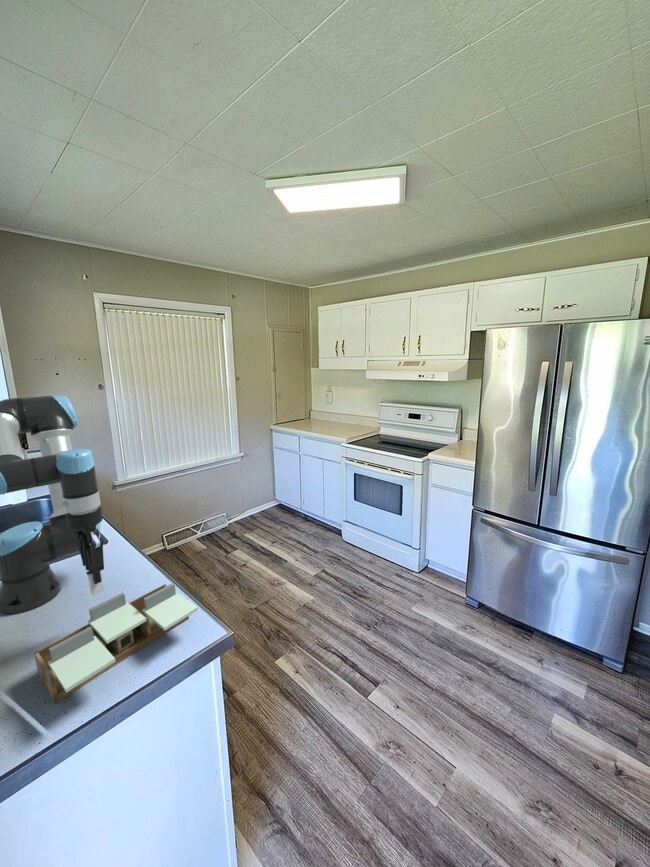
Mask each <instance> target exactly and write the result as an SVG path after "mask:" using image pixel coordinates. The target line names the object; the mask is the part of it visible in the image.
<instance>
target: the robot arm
mask: <svg viewBox="0 0 650 867" xmlns="http://www.w3.org/2000/svg"><path fill="white" fill-rule="evenodd" d="M76 427H78V419H77V415H76V411H75V409H74V407H73V405H72V403H71V401H70V399H69V398H68V397H67V396H65V395H51V394H50V395H44V396H29V397H27V396H26V397H17V398H16V397H12V398H6V399H2V400H0V495H5V494H10V493H14V492H18V491H23V490H28V489H33V488H37V487H39V488H40V487H44V486H47V487H48V491H49V495H50V499H51V500H50V501H51V506H52V510H53V512H52V513H51V514H50V516H49V517H48V519H49V523H47V524H42V523H41V521H36V520H35V521H29V522H25V523H20V524H17V525H15V526H13V527H11V528H8V529H7V530H5V531H3V532H1V533H0V580H1V587H0V612H1V613H3V614H6V613H7V614H8V615H12V614H13V615H14V614H21V613H24V612H28V611H31V610H33V609H34V610H35V609H36V608H38V607H41V606H42V605H43V606H44V605H45V604H47V603H48V602H50V601H51V600H53V599H54V598H56V597H57V596H58V595H59V593H60V592H61V590H62V587H61V586H62V585H61V581H60V579H59V578H58V576H57V575H56V573H54V571H53V570H52V568H51V564H50V562H52V561H55V560H58V559H61V558H62V559H63V558H65V557H68V556H71V555H74V554H77V553H79V554H80V557H81V559H80V560H81V562H82V566H84V567H85V570H86V572H85V573H86V575H87V578H88V584H89V590H90V594H91V595H92V596H93V597H95V596H96V595H97V594H100V593H102V592H105V586H104V581H103V574H102V571H104V570H105V564H104V563H105V562H104V539H103V538H101V523H102V522H103V521H104V520H103V519H104V518H103V510H102V506H101V504H102V503H101V499H100V498H101V497H100V490H99V488H98V481H97V475H96V466H95V464H96V463H95V460H94V457H93V453H92V451H91V450H90V449H87V448H75V449H74V448H73V444H72V440H71V436H72V435H73V434H74V433H75V430H74V428H76ZM28 433H30V436H31V438H32V439H33V440H35V441H37V442H38V445H39V450H40V454H41V456H39V457H31V458H25V456H24V453H23V447H22V445H21V442H20V438H19V434H28ZM7 614H6V615H7Z"/></svg>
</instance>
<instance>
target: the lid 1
mask: <svg viewBox="0 0 650 867" xmlns="http://www.w3.org/2000/svg"><path fill="white" fill-rule="evenodd" d="M49 652H50V656H51V660H50V661H48V665H49V667H50V668H51V670H52V671H53V673H54V674H55V676H56V677H57V679H58V681H59V682H60V684H61V685H62V687H63V688H64V690H65V691H66V692H68V691H70V690H71V689H73V688H74V687H76V686H78V685H79V684H81V683H82V682H84V681H86V680H87V679H89V678H90V677H92V676H94V675H95V674H97V673H98V672H100V671H101V670H103V669H105V668H106V667H108V666H109V665H111V664H113V663H114V662H116V660H115V658H114V657H113V655H112V654H111V653H110V652H109V651H108V650H107V649H106V648H105V647H104V645H103V644H102V643H101V642H100V641H99V640H98V639H97V638H96V636H94V635H93V630H92V628H91V627H88V628H87V629H85V630H83V631H81V632H79V633H77V634H75V635H73V636H71V637H70V638H68V639H66V640H64V641H62V642H60V643H58V644H56V645H54V646H52V647H51V648H49Z"/></svg>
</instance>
